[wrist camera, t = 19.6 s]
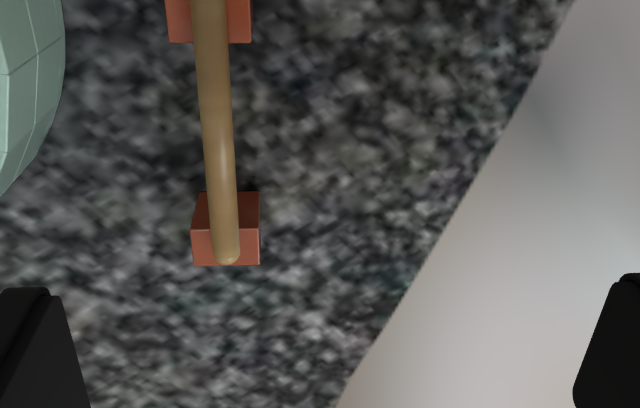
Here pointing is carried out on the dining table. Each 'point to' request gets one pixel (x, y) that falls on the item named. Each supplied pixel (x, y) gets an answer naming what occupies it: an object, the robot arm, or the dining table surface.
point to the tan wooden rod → (216, 125)
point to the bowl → (28, 80)
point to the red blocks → (248, 201)
